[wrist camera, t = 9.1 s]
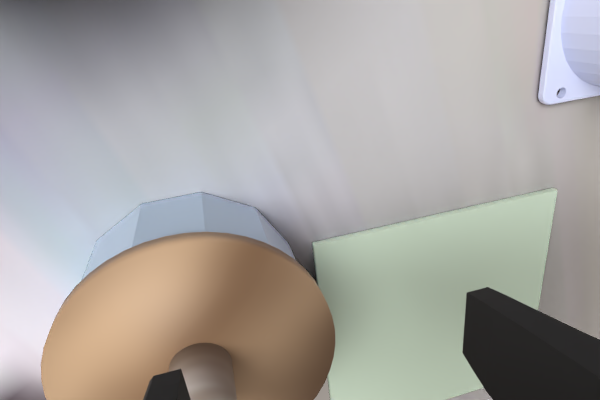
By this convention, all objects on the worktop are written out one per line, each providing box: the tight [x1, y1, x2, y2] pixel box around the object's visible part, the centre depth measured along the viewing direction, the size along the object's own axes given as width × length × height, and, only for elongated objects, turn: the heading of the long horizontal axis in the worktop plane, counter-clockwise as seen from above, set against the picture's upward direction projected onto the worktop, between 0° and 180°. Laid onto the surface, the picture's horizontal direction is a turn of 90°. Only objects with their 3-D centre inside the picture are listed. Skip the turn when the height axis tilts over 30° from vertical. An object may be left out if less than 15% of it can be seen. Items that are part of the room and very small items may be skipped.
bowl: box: [81, 192, 296, 281], centre depth 19 cm, size 10×10×4 cm
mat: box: [312, 188, 557, 400], centre depth 25 cm, size 14×14×1 cm
